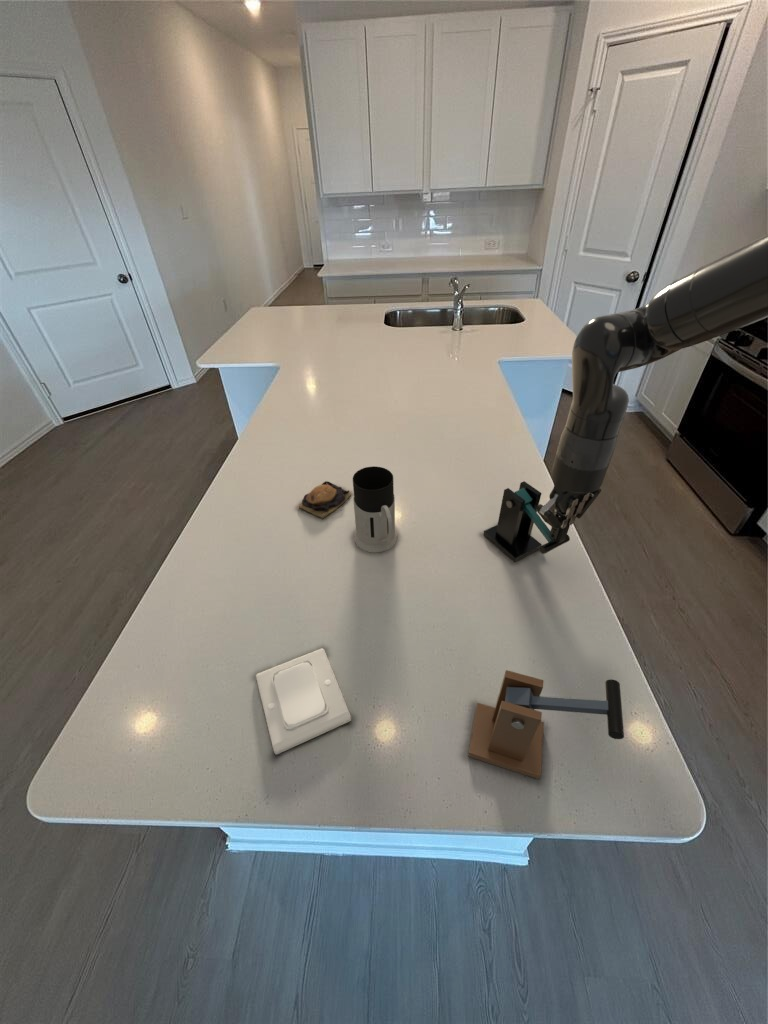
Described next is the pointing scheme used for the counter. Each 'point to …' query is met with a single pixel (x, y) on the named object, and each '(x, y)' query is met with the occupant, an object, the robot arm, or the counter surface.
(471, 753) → the near bracket
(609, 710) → the near lever
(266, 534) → the counter surface
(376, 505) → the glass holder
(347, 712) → the light switch
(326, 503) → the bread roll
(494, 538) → the far bracket
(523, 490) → the far lever
